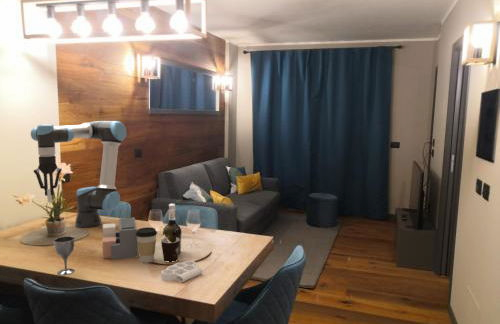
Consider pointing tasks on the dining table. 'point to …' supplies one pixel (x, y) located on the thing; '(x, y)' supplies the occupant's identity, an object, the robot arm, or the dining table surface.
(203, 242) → the dining table surface
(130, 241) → the console
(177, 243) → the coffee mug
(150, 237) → the coffee cup
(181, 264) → the grey muffin tray
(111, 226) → the cream key
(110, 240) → the terracotta key
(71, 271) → the wine glass
